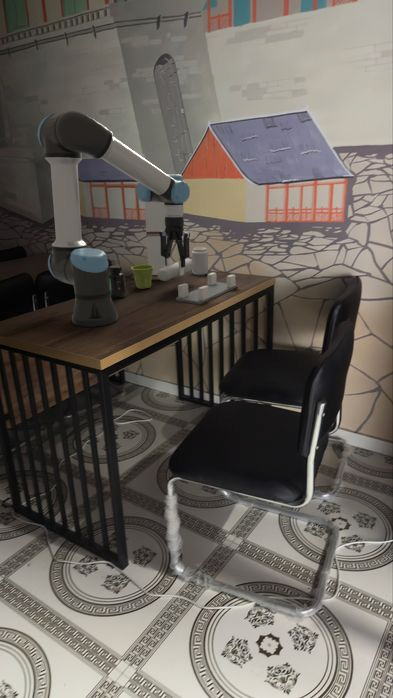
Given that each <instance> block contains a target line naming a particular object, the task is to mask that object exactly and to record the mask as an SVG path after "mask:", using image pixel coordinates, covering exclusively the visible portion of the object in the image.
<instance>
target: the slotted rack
mask: <svg viewBox="0 0 393 698" xmlns="http://www.w3.org/2000/svg"><path fill="white" fill-rule="evenodd" d="M217 279H218V278H217V272H210V273H207V285H202V286H199V287H198V288H197V289H195V290H192V291H190V292H189V283H181V284H178V285H177V293H178V296H177V297H176V298H175V301H176V302H180V303H188V304H195V305H202V304H204V303H206V302H209V301H210V300H212V299H215V298H217V297H220V296H221V295H224V294H225V293H228V292H230V291H232V290H235V289H237V288H238V287H239V286H238V285H239V284H236V274H229V275H227V276H226V282H219V281H218V282H217ZM236 287H237V288H236Z"/></svg>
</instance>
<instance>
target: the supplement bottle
mask: <svg viewBox="0 0 393 698" xmlns="http://www.w3.org/2000/svg"><path fill="white" fill-rule="evenodd" d="M108 270H109V282H110V294H111V299H123V298H125V297H127V289H126V288H127V287H126V278H125V277H126V275H125V274H124V272H122V271H123V270H122V266H121V265H116V264H115V265H110V266H108Z"/></svg>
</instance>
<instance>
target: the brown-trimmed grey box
mask: <svg viewBox="0 0 393 698" xmlns="http://www.w3.org/2000/svg"><path fill="white" fill-rule="evenodd" d="M144 212H145V214H144V216H145V217H144V218H145V230H146V231H145V232H146V248H147V249H146V252H147V265H152V266H154V268H153V271H152V279H151V280H160V279H159V278H158V275H157V273H158V271H159V270H160V269H161V268H164V267H166V265H165V257H163V256H161V240H160V234H159V232H160V231H165V228H166V226H165V217H166V215H164V202H144ZM166 245H167V235H166ZM172 279H174V278H171V279H170V280H172Z"/></svg>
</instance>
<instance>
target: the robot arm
mask: <svg viewBox="0 0 393 698" xmlns="http://www.w3.org/2000/svg"><path fill="white" fill-rule="evenodd" d="M37 139H38V142H39V145H40V146H41V147H42V148H43V150H44V151H43V152H44V159H45V161H47V162H48V163H49V165H50V176H51V188H52V189H51V190H52V201H53V204H52V205H53V218H54V227H55V228H54V229H55V231H54V232H55V240H54V242H52V243H51V253H50V254H49V256H48V259H47V266H48V270H49V272H50V274H51V275H52V276H53V278H55V279H57V280H58V281H60V282H61V283H64V284H69V285H72V286H73V288H74V289H73V290H74V305H73V312H72V314H71V320H72V324H73V325H76V326H78V327H88V328H89V327H91V328H92V327H93V328H94V327H102V326H106V325H111V324H113V323H115V322H116V321H118V319H119V315H118V311H117V308H115V304H114V301H113V298H111V294H110V282H109V273H110V272H109V267H110V266H109V261H108V260H109V259H108V256H107V253H106V252H105V251H103V250H101V249H99V248H91V247H87V243H86V242H85V241H84V240H83V239H82V238H83V237H82V235H83V234H82V219H81V207H80V206H81V203H80V185H79V184H80V183H79V182H80V181H79V167H78V165H79V163H80V162H81V161H82V160H83V154H85V155H88V156H90V157H91V158H93V159H95V160H103V161H104V162H106V163H108V164H109V165H110V166H112V167H113V168H116V169H117V170H118V171H120V172H122V173H124V174H125V175H127V176H128V177H130V178H131V179H133V180H134V181H136V182H137V185H136V188H135V190H136V197H137V199H138V201H140V202H142V203H145V202H164V215H166V217H165V226H166V228H165V231H160V232H159V234H160V240H161V256H163V257H165V265H166V266H169V265H171V264H173V258H172V256H171V253H172V249H173V243H174V242H175V243H176V246H177V252H178V255H179V258H178V261H177V262H178V263H179V275H178V276H179V277H181V276H185V273H184V267H185V259H186V258H190V255H191V253H190V237H191V233H190V232H186V231H185V229H184V225H185V224H184V223H185V219H184V216H183V215H184V203H186V202H187V201H188V199H189V198H190V194H191V190H190V187H189V184H188V183H187V182H186V181H184V180H183V175H182V174H167V173H165V172H164V171H163V170H161V169H160V168H158V167H157V166H156V165H154V164H153V163H151V162H150V161H148V160H147V159H145V157H143V156H141V155H140V154H138V153H137V152H136V151H134V150H132V148H130V147H129V146H127V145H126V144H124V143H123V142H121V141H120V140H119V139H117V138H116V137H115V136H114V134H113V131H112V130H110V129H109V128H107V127H106V126H104V125H103V124H101V123H100V122H99V121H97V120H95V119H94V118H92V117H91V116H89V115H87V114H86V113H83V112H81V111H78V110H77V111H76V110H69V111H64V112H58V113H56V112H55V113H52V114H49V115H48V116H45V117H44V118H43V119H42V120H41V121H40V123H39V124H38V129H37ZM166 235H167V245H166Z"/></svg>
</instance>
